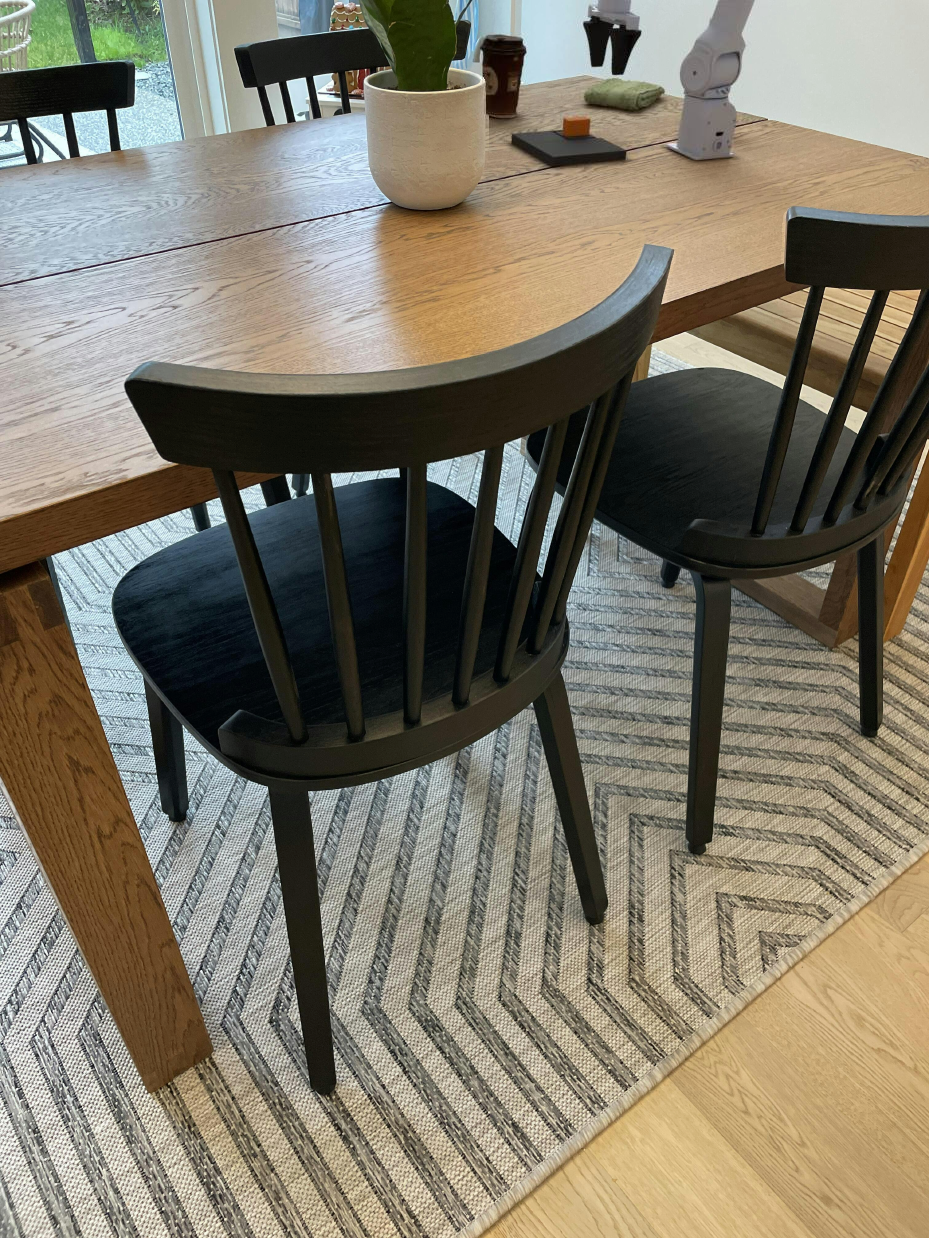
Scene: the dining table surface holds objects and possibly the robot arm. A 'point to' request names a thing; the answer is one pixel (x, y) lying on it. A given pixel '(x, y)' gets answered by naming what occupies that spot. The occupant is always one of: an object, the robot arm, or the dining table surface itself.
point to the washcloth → (623, 93)
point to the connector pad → (576, 128)
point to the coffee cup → (502, 73)
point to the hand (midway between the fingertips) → (607, 70)
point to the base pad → (567, 148)
